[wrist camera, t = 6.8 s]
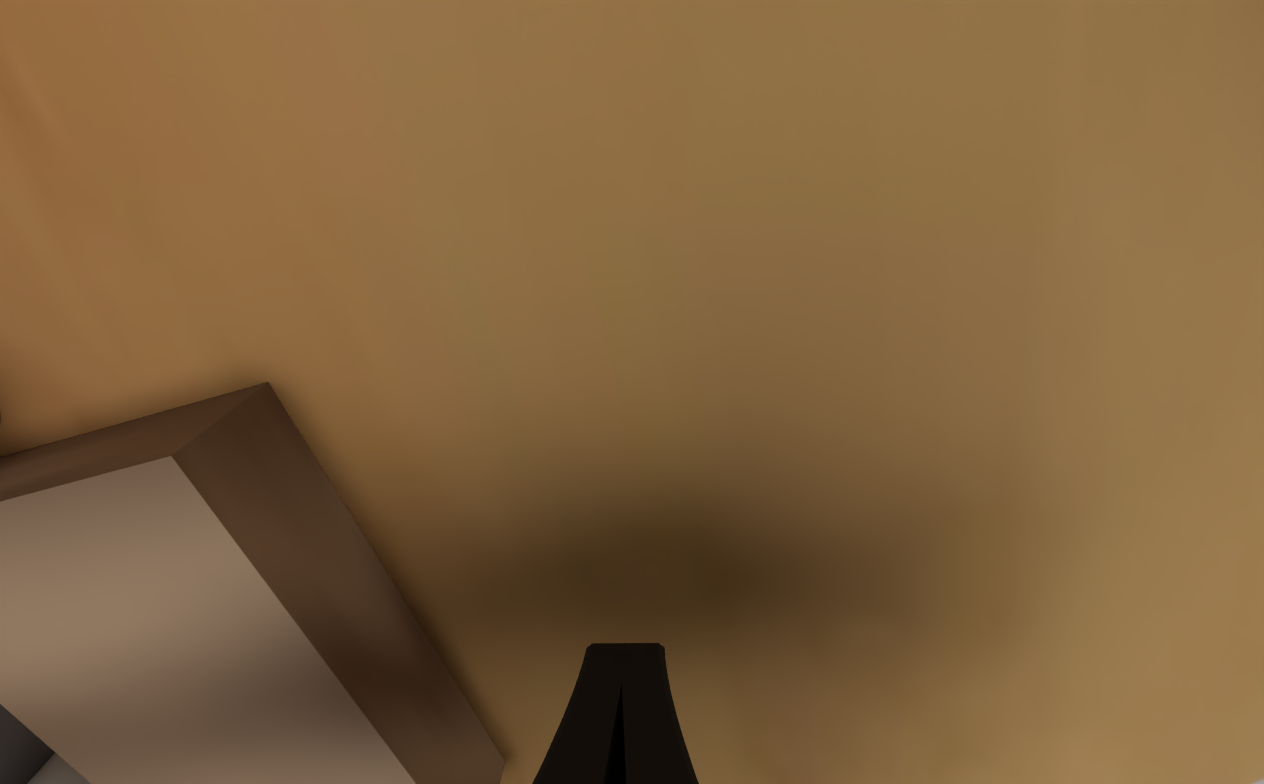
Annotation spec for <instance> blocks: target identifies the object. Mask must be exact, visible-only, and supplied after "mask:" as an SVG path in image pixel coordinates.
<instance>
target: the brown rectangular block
mask: <svg viewBox="0 0 1264 784" xmlns="http://www.w3.org/2000/svg"><path fill="white" fill-rule="evenodd" d="M0 704H1V705H2V706H3V707H4V708H6V709H7V710H8V711H9V712H10V713H11V714H12V715H13V716H15V717H16V718H17V719H18V720H19V721H20V722H21V723H23V724H24V725H25V726H26V727H27V728H28V729H29V730H31V731H32V732H33V733H34V734H35V735H36V736H37V737H39V738H40V739H41V740H42V741H43V742H44V743H45V744H46V745H48V746H49V747H50V748H51V749H52V750H53V751H54V752H56V753H57V754H58V755H59V756H60V757H61V758H62V759H64V760H65V761H66V762H67V763H68V764H69V765H70V766H72V767H73V768H74V769H75V770H76V771H77V772H78V773H79V774H81V775H82V776H83V777H84V778H85V779H86V780H87V781H89V782H90V783H91V784H500V781H501V776H502V771H503V767H504V762H505V761H504V759H503V757H502V756H501V754H500V753H499V751H498V749H497V748H496V746H495V745H494V743H493V741H492V740H491V738H490V737H489V735H488V733H487V732H486V730H485V729H484V727H483V725H482V724H481V722H480V721H479V719H478V717H477V716H476V714H475V713H474V711H473V709H472V708H471V706H470V705H469V703H468V701H467V700H466V698H465V697H464V695H463V693H462V692H461V690H460V689H459V687H458V685H457V684H456V682H455V681H454V679H453V677H452V676H451V674H450V673H449V671H448V669H447V668H446V666H445V665H444V663H443V661H442V660H441V658H440V657H439V655H438V653H437V652H436V650H435V649H434V647H433V645H432V644H431V642H430V641H429V639H428V637H427V636H426V634H425V633H424V631H423V629H422V628H421V626H420V624H419V623H418V621H417V620H416V618H415V616H414V615H413V613H412V612H411V610H410V608H409V607H408V605H407V604H406V602H405V600H404V599H403V597H402V596H401V594H400V592H399V591H398V589H397V588H396V586H395V584H394V583H393V581H392V580H391V578H390V576H389V575H388V573H387V572H386V570H385V568H384V567H383V565H382V564H381V562H380V560H379V559H378V557H377V556H376V554H375V552H374V551H373V549H372V548H371V546H370V544H369V543H368V541H367V540H366V538H365V536H364V535H363V533H362V532H361V530H360V528H359V527H358V525H357V524H356V522H355V520H354V519H353V517H352V516H351V514H350V512H349V511H348V509H347V508H346V506H345V504H344V503H343V501H342V500H341V498H340V496H339V495H338V493H337V492H336V490H335V488H334V487H333V485H332V484H331V482H330V480H329V479H328V477H327V476H326V474H325V472H324V471H323V469H322V468H321V466H320V464H319V463H318V461H317V460H316V458H315V456H314V455H313V453H312V452H311V450H310V448H309V447H308V445H307V444H306V442H305V440H304V439H303V437H302V436H301V434H300V432H299V431H298V429H297V428H296V426H295V424H294V423H293V421H292V420H291V418H290V416H289V415H288V413H287V412H286V410H285V408H284V407H283V405H282V404H281V402H280V400H279V399H278V397H277V396H276V394H275V392H274V391H273V389H272V388H271V386H270V384H269V383H268V382H267V383H263V384H260V385H256V386H252V387H249V388H245V389H242V390H238V391H235V392H231V393H228V394H224V395H220V396H217V397H213V398H210V399H206V400H203V401H199V402H195V403H192V404H188V405H185V406H181V407H178V408H174V409H170V410H167V411H163V412H160V413H156V414H153V415H149V416H146V417H142V418H138V419H135V420H131V421H128V422H124V423H121V424H117V425H113V426H110V427H106V428H103V429H99V430H96V431H92V432H88V433H85V434H81V435H78V436H74V437H71V438H67V439H64V440H60V441H56V442H53V443H49V444H46V445H42V446H39V447H35V448H31V449H28V450H24V451H21V452H17V453H14V454H10V455H6V456H3V457H0Z"/></svg>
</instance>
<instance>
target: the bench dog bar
mask: <svg viewBox="0 0 1264 784" xmlns="http://www.w3.org/2000/svg"><path fill="white" fill-rule="evenodd" d="M0 784H91V783H90V782H89V781H87V780H86V779H85V778H84V777H83V776H82V775H81V774H79V773H78V772H77V771H76V770H75V769H74V768H73V767H72V766H70V765H69V764H68V763H67V762H66V761H65V760H64V759H62V758H61V757H60V756H59V755H58V754H57V753H56V752H54V751H53V750H52V749H51V748H50V747H49V746H48V745H46V744H45V743H44V742H43V741H42V740H41V739H40V738H39V737H37V736H36V735H35V734H34V733H33V732H32V731H31V730H29V729H28V728H27V727H26V726H25V725H24V724H23V723H21V722H20V721H19V720H18V719H17V718H16V717H15V716H13V715H12V714H11V713H10V712H9V711H8V710H7V709H6V708H4V707H3V706H2V705H1V704H0Z"/></svg>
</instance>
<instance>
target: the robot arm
mask: <svg viewBox="0 0 1264 784" xmlns="http://www.w3.org/2000/svg"><path fill="white" fill-rule="evenodd" d="M532 784H699V783H698V780H697V778H696V775H695V772H694V769H693V766H692V763H691V760H690V757H689V754H688V751H687V748H686V745H685V741H684V738H683V735H682V732H681V729H680V725H679V722H678V718H677V715H676V711H675V707H674V703H673V699H672V695H671V690H670V686H669V681H668V675H667V669H666V662H665V649H664V647H663V646H661V645H660V644H659V643H593V644H591V645H590V646H589V647H587V649H586V653H585V657H584V661H583V664H582V667H581V670H580V673H579V676H578V679H577V682H576V685H575V688H574V690H573V693H572V696H571V698H570V701H569V703H568V706H567V708H566V711H565V713H564V716H563V718H562V721H561V723H560V725H559V727H558V730H557V732H556V734H555V736H554V739H553V741H552V743H551V746H550V748H549V750H548V752H547V755H546V757H545V759H544V761H543V763H542V765H541V767H540V769H539V771H538V773H537V775H536V777H535V779H534V781H533V783H532Z"/></svg>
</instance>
